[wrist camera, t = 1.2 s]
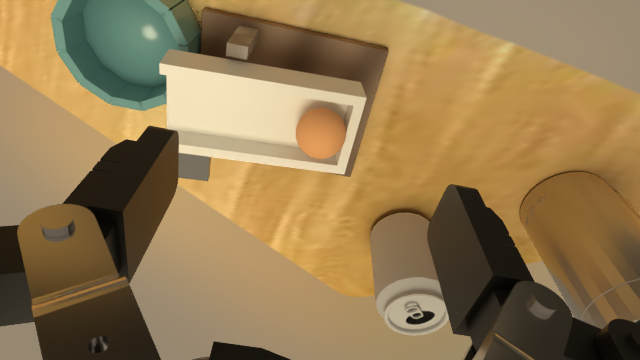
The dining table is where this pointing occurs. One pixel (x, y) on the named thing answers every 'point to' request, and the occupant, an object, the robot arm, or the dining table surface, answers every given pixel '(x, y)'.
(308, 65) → the stand
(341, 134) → the ball
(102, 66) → the teal round bowl
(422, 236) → the can
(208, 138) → the cream shallow tray
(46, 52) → the dining table surface
